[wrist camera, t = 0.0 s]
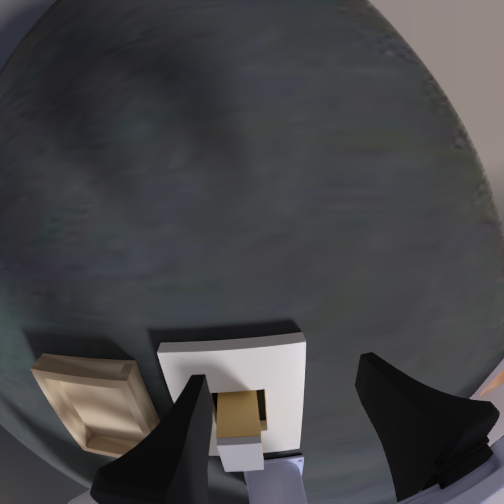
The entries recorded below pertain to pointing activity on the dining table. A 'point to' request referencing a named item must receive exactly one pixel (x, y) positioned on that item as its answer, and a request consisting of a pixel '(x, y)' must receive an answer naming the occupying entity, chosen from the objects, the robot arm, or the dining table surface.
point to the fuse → (239, 431)
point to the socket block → (246, 379)
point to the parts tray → (98, 401)
